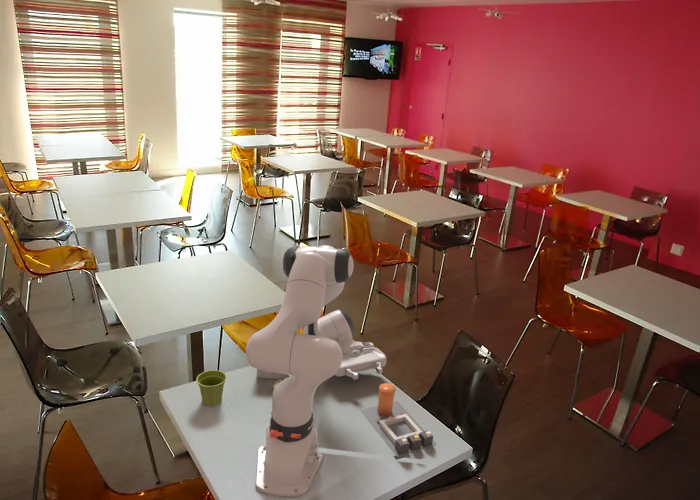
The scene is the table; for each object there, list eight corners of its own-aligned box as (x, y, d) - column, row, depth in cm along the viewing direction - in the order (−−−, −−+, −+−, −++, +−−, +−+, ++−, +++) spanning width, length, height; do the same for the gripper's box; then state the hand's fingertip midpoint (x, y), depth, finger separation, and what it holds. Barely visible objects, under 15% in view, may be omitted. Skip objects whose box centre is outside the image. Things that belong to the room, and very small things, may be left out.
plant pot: (192, 398, 175) (191, 375, 172) (218, 388, 181) (218, 366, 178) (204, 413, 168) (204, 389, 166) (231, 402, 174) (231, 380, 171)
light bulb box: (288, 369, 195) (289, 343, 191) (286, 379, 189) (287, 353, 185) (259, 367, 195) (259, 341, 191) (256, 377, 188) (256, 351, 185)
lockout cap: (392, 417, 171) (395, 394, 168) (376, 415, 171) (378, 392, 168) (392, 407, 176) (395, 384, 173) (376, 405, 176) (379, 382, 173)
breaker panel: (436, 447, 161) (438, 433, 159) (396, 459, 155) (398, 445, 153) (397, 403, 180) (398, 390, 178) (360, 412, 174) (361, 399, 172)
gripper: (324, 351, 188) (341, 373, 176) (375, 341, 197) (394, 361, 185) (324, 367, 190) (340, 389, 178) (374, 356, 199) (393, 376, 187)
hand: (368, 374), depth 182 cm, fingers open, 8 cm apart
